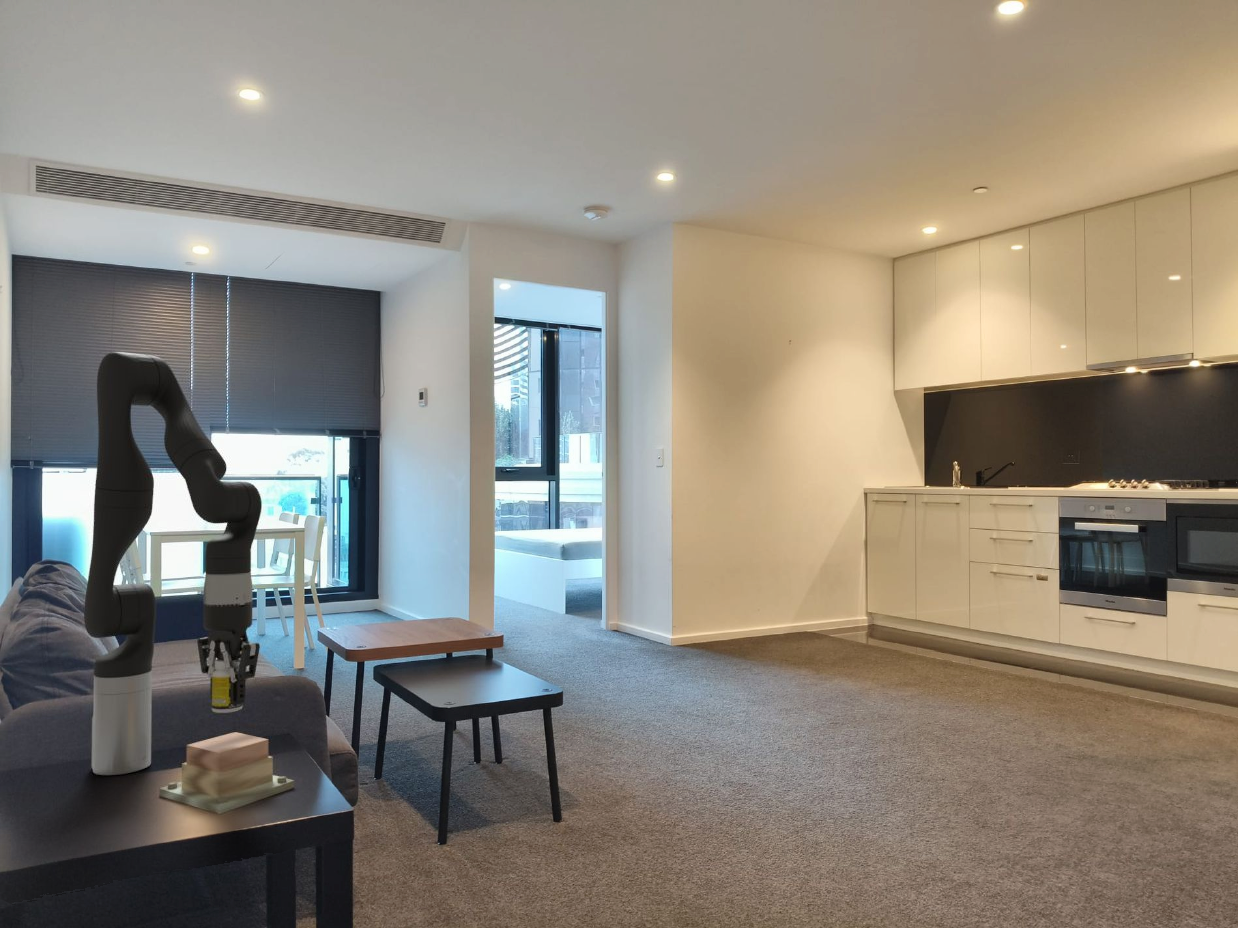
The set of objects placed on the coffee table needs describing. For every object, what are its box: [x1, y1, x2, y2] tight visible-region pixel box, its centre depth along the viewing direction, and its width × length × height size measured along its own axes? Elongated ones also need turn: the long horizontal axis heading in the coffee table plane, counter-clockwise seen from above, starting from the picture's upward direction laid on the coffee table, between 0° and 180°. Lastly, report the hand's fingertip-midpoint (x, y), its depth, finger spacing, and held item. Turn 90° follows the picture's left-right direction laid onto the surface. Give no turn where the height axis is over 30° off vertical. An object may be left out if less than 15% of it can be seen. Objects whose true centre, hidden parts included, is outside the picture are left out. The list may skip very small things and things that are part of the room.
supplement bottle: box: [211, 659, 244, 714], centre depth 147 cm, size 5×5×8 cm
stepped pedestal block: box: [158, 731, 295, 815], centre depth 147 cm, size 16×14×8 cm
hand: (227, 701), depth 147 cm, fingers closed on supplement bottle, 4 cm apart
